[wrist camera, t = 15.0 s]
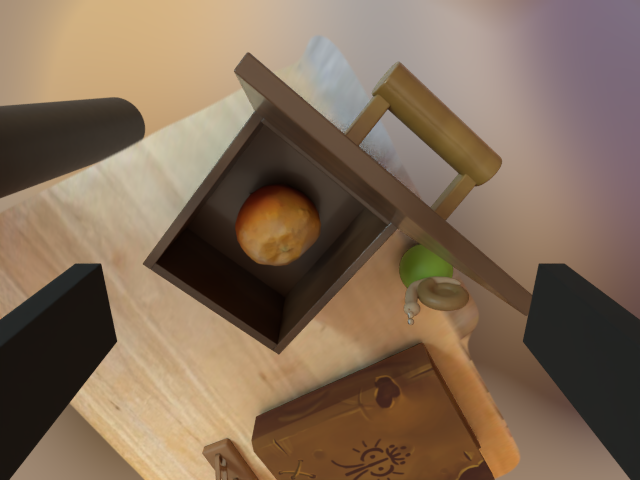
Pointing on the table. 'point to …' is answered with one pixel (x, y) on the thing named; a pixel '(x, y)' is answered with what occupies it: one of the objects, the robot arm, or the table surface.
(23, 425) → the robot arm
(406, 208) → the chest lid
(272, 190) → the fruit
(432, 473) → the diary
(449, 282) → the snail figurine
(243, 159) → the chest
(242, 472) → the gingerbread man figurine
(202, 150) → the table surface
